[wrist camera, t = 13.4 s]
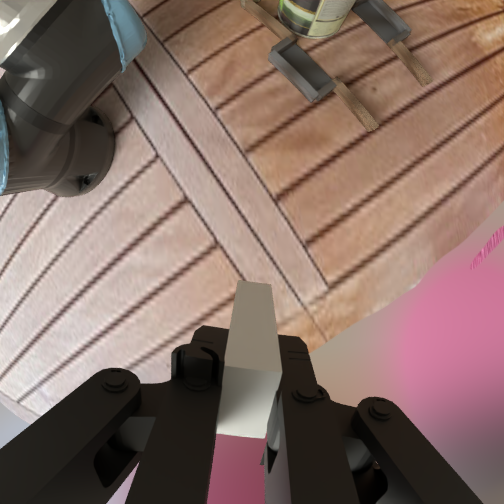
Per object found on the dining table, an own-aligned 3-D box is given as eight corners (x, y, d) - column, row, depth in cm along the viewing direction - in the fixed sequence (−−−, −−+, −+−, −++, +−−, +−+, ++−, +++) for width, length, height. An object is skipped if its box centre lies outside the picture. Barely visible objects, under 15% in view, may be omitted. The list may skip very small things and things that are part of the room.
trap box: (437, 74, 35) (450, 68, 32) (349, 147, 39) (358, 144, 36) (323, -37, 31) (328, -50, 27) (221, 19, 35) (218, 7, 31)
